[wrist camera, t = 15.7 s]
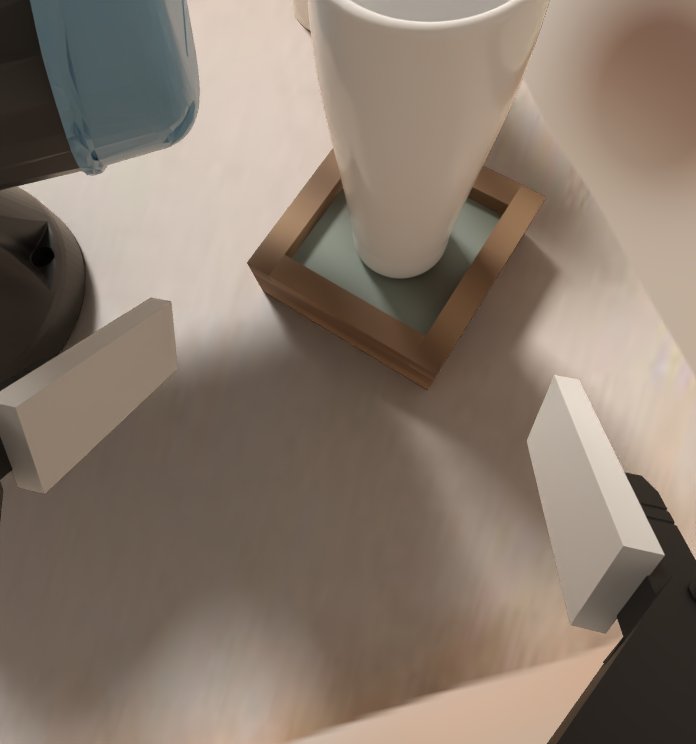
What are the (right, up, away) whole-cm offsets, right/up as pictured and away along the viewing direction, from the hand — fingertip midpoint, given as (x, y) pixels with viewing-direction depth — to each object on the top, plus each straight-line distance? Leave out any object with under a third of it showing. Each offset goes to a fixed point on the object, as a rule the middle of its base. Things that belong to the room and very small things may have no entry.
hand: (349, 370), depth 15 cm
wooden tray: (+3, +7, +13) cm, 15 cm away
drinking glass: (+3, +7, +10) cm, 13 cm away
